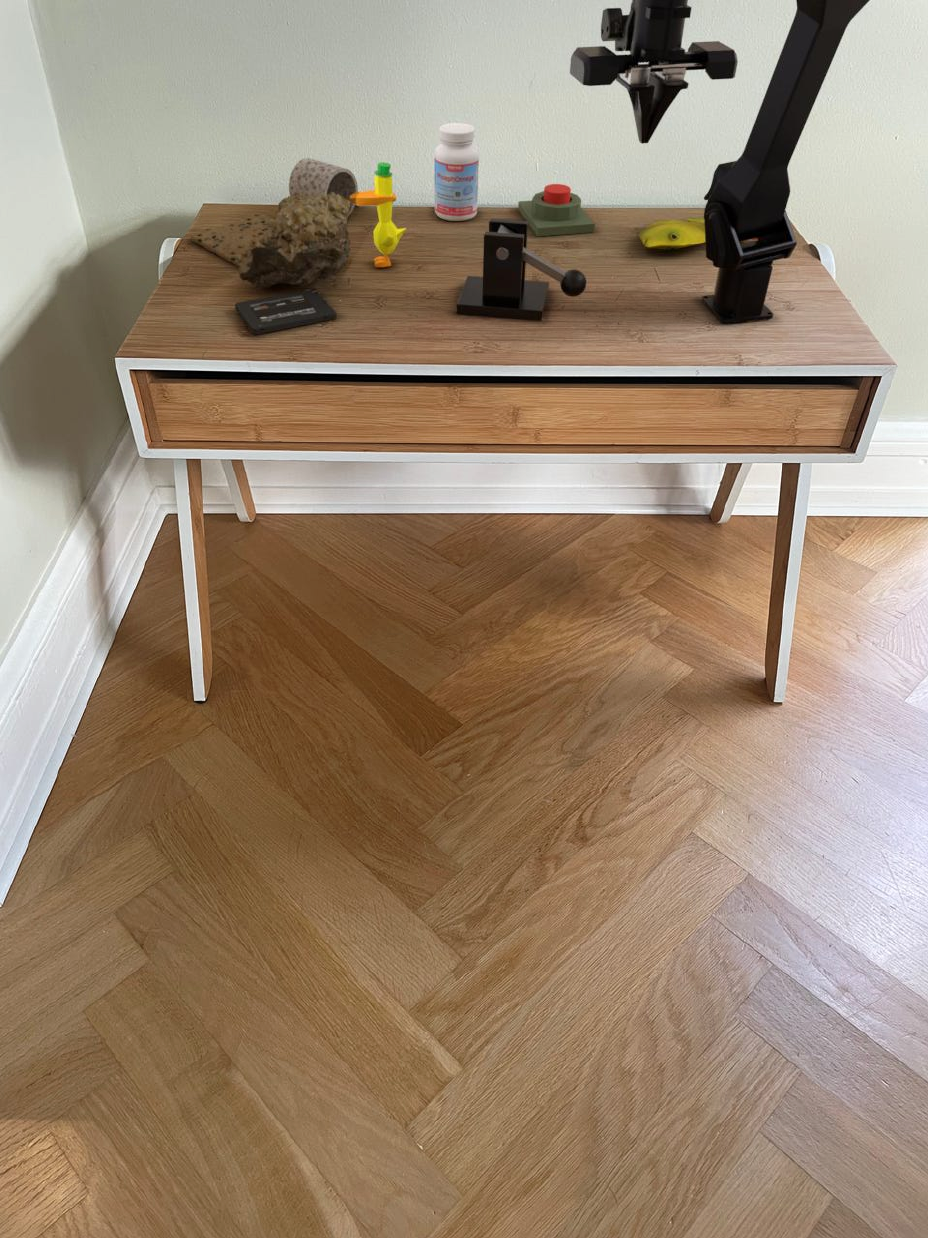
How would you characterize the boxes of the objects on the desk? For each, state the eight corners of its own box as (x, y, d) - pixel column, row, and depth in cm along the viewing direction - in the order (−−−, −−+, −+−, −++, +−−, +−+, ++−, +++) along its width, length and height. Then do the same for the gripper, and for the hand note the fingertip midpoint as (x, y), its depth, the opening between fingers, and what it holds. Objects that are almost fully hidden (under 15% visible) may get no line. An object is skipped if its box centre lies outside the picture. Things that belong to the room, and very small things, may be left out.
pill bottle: (434, 222, 130) (433, 134, 123) (435, 205, 135) (434, 120, 127) (477, 222, 130) (479, 135, 123) (477, 206, 135) (479, 120, 127)
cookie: (318, 243, 125) (317, 235, 124) (241, 268, 119) (240, 261, 118) (266, 217, 131) (265, 209, 130) (189, 240, 125) (188, 232, 124)
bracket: (548, 291, 115) (553, 217, 109) (541, 320, 109) (547, 244, 103) (467, 284, 116) (468, 211, 110) (456, 313, 110) (456, 237, 104)
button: (573, 205, 129) (574, 191, 127) (547, 207, 128) (548, 193, 127) (565, 195, 131) (566, 182, 130) (540, 197, 131) (541, 184, 129)
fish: (623, 231, 121) (698, 241, 117) (666, 203, 132) (736, 211, 128) (621, 254, 123) (695, 264, 119) (664, 224, 134) (733, 233, 130)
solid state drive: (253, 329, 105) (253, 334, 105) (337, 312, 108) (337, 318, 109) (233, 302, 109) (234, 308, 110) (315, 288, 113) (315, 293, 113)
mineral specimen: (270, 221, 122) (256, 148, 113) (368, 231, 121) (361, 159, 112) (239, 297, 114) (221, 225, 106) (343, 309, 113) (333, 238, 105)
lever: (578, 294, 112) (592, 273, 110) (576, 305, 110) (590, 284, 108) (490, 243, 109) (503, 220, 107) (487, 253, 107) (499, 230, 105)
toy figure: (356, 271, 118) (349, 170, 110) (353, 260, 120) (346, 160, 112) (409, 267, 119) (406, 167, 111) (405, 256, 121) (402, 157, 113)
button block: (593, 232, 128) (596, 209, 126) (537, 236, 127) (538, 213, 125) (571, 205, 136) (573, 183, 133) (518, 209, 134) (519, 187, 132)
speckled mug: (284, 203, 130) (319, 215, 127) (295, 152, 128) (330, 162, 125) (331, 217, 138) (365, 228, 135) (342, 169, 136) (377, 179, 133)
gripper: (711, -25, 112) (688, 118, 123) (561, -20, 109) (551, 126, 120) (752, -6, 104) (724, 145, 115) (592, 0, 101) (578, 155, 112)
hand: (643, 142), depth 116 cm, fingers closed
